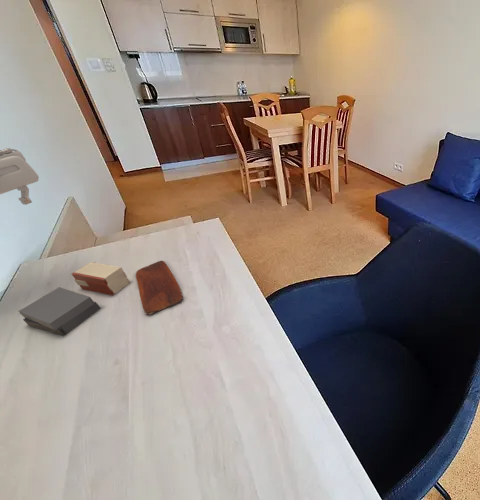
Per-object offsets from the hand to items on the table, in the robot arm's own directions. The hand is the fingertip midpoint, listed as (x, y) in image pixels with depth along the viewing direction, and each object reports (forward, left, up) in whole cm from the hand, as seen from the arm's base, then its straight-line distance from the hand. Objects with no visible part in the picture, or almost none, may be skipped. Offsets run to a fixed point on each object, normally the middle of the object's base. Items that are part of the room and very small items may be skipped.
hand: (7, 211), depth 79 cm
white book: (+11, +4, -23) cm, 26 cm away
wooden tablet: (+28, +8, -27) cm, 40 cm away
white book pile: (+11, +4, -27) cm, 30 cm away
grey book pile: (+12, -9, -27) cm, 31 cm away
